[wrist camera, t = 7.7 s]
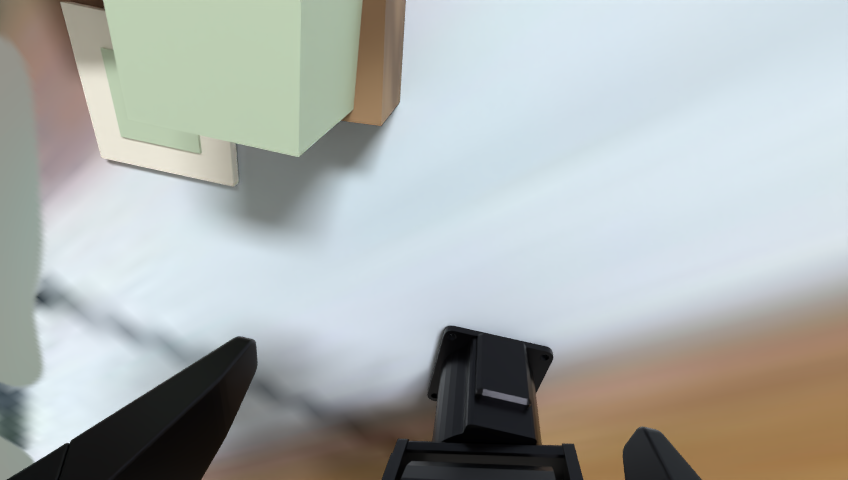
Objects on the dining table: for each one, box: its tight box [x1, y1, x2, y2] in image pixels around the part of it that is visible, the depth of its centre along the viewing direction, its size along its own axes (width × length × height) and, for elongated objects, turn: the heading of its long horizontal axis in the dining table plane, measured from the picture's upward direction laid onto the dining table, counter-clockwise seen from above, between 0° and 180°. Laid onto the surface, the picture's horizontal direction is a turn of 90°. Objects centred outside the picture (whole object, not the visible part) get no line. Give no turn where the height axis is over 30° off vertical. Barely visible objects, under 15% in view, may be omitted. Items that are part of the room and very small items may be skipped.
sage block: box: [103, 0, 363, 157], centre depth 11 cm, size 4×4×5 cm
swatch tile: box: [60, 2, 239, 187], centre depth 19 cm, size 7×7×1 cm
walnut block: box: [341, 0, 406, 126], centre depth 15 cm, size 6×6×4 cm
